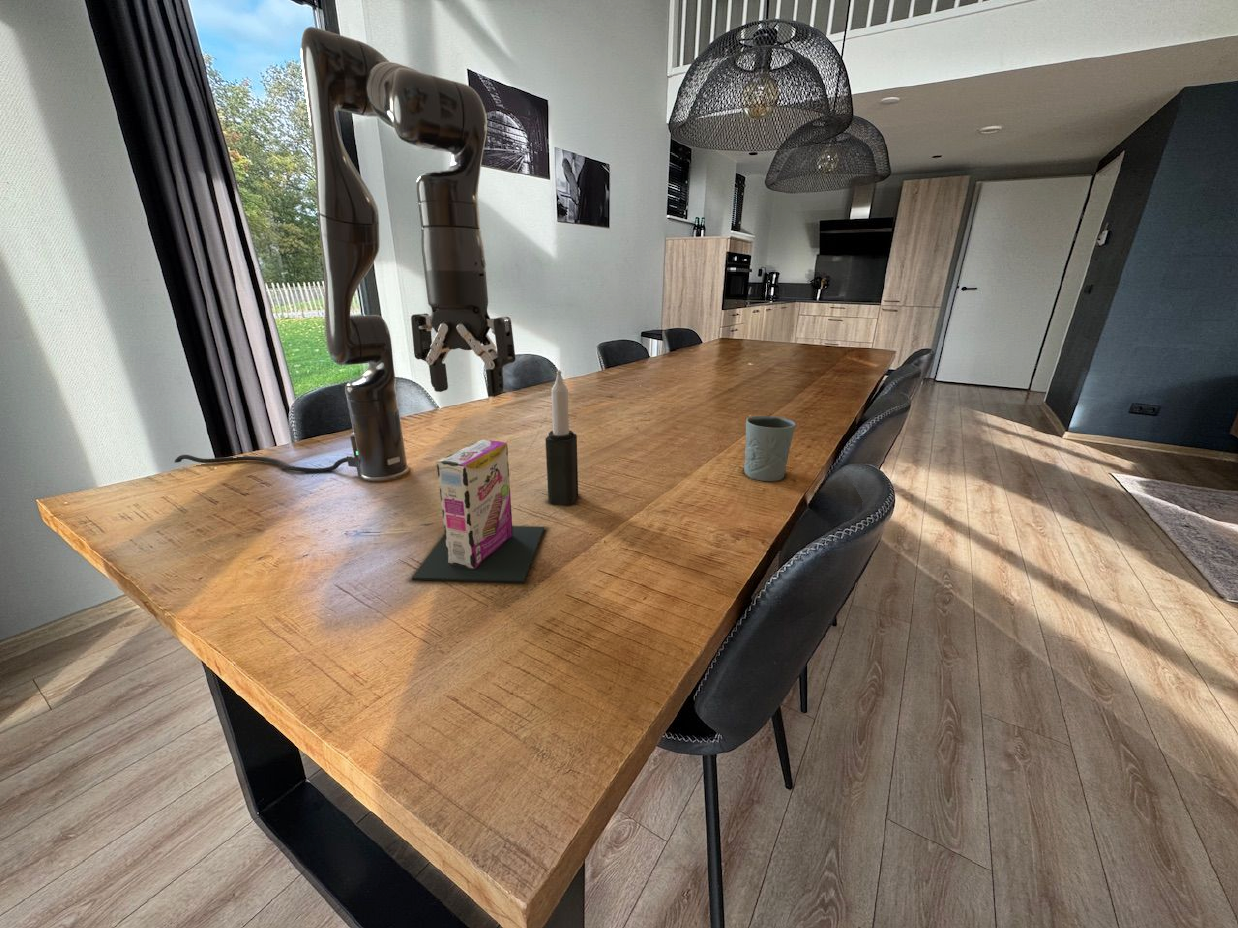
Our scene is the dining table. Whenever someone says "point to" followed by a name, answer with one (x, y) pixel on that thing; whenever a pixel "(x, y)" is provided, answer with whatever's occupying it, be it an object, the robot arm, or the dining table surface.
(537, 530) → the mat
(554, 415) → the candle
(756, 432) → the grey green embossed cup
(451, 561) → the candy bar box
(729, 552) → the dining table surface
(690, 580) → the dining table surface
